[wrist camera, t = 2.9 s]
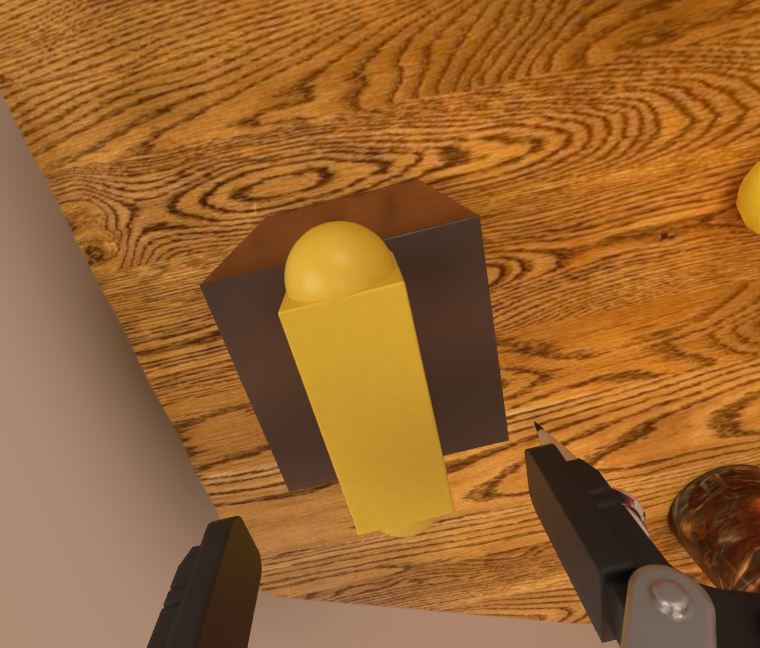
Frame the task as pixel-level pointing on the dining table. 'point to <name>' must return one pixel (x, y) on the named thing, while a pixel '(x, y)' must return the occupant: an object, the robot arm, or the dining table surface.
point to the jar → (722, 526)
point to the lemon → (750, 199)
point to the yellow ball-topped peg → (365, 377)
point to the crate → (428, 306)
